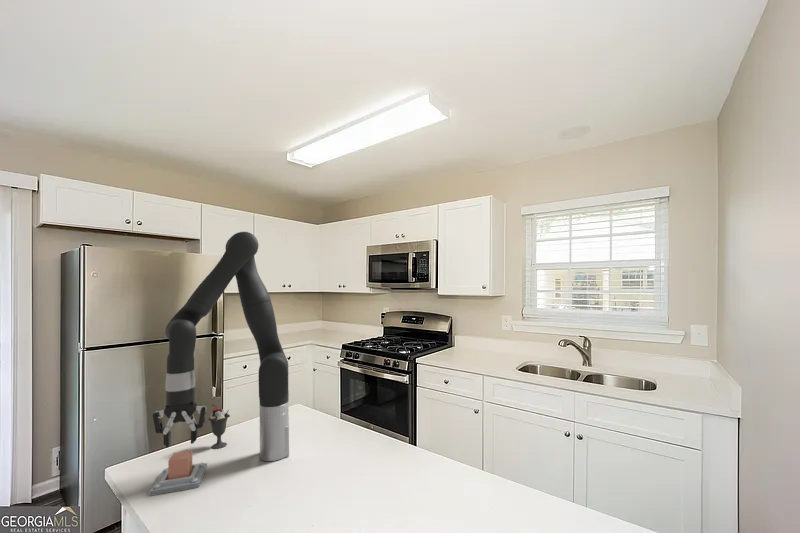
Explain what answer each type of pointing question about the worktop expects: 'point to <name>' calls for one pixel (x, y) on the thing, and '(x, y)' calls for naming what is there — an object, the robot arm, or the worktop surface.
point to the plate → (179, 480)
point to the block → (180, 465)
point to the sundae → (218, 426)
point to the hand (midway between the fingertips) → (180, 444)
